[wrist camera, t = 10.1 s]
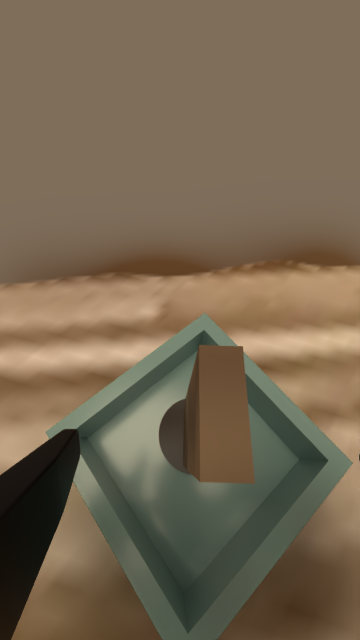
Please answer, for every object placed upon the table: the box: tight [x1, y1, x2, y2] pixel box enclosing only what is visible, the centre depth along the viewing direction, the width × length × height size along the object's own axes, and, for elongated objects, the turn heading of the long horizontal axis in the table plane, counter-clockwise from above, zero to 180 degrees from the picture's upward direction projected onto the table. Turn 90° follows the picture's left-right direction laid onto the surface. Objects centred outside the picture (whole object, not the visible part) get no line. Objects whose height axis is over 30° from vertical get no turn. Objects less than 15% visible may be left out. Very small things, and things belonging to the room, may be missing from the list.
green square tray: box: [46, 313, 353, 640], centre depth 18 cm, size 13×13×5 cm
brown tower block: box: [159, 345, 255, 484], centre depth 14 cm, size 5×5×13 cm
